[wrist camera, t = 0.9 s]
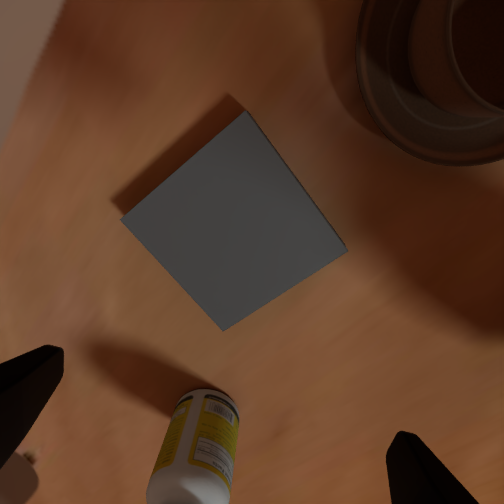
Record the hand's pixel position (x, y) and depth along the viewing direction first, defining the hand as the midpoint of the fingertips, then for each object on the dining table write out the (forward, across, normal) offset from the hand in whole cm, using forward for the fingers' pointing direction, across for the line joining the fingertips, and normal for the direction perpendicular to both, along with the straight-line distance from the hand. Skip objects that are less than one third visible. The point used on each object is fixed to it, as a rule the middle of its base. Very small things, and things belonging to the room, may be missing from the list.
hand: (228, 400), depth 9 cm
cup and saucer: (+14, -8, -13) cm, 21 cm away
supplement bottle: (+14, +1, +16) cm, 21 cm away
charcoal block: (+14, +2, 0) cm, 15 cm away
